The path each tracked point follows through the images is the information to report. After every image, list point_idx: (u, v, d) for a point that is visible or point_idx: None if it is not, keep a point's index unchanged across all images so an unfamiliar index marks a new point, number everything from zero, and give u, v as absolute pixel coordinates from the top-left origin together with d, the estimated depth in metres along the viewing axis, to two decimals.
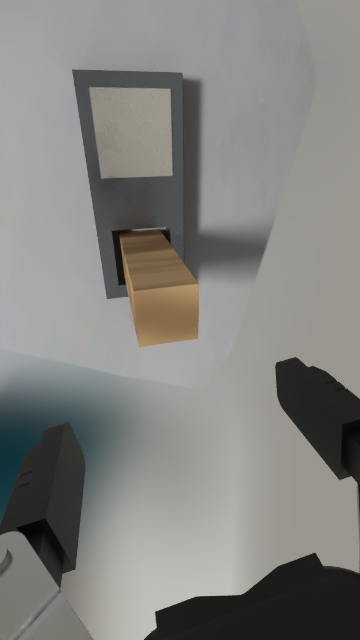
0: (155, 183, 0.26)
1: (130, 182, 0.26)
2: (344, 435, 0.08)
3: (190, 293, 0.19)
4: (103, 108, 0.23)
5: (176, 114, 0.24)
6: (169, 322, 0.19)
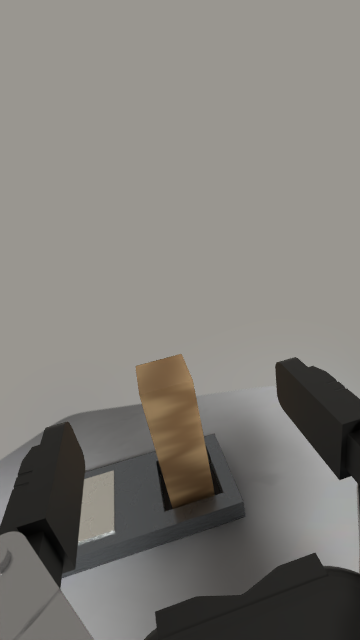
0: (120, 482, 0.29)
1: (119, 503, 0.27)
2: (344, 435, 0.08)
3: (142, 367, 0.25)
4: None
5: None
6: (167, 370, 0.24)
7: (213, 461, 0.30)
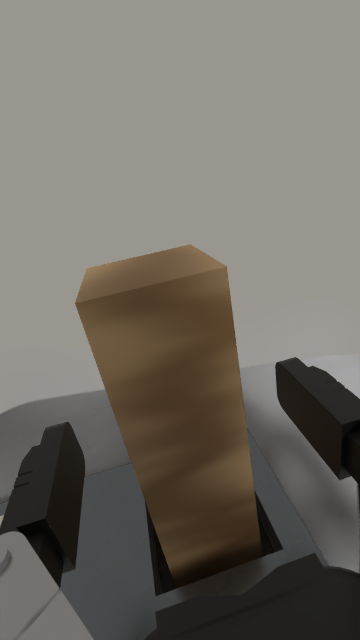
0: None
1: None
2: (344, 435, 0.08)
3: (101, 268, 0.11)
4: None
5: None
6: (158, 263, 0.10)
7: None
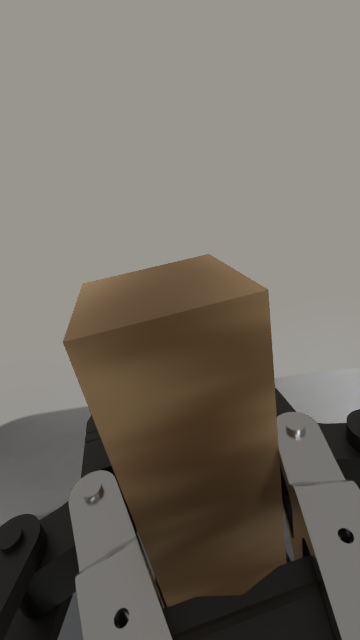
0: None
1: None
2: None
3: (101, 284, 0.09)
4: None
5: None
6: (173, 280, 0.08)
7: None
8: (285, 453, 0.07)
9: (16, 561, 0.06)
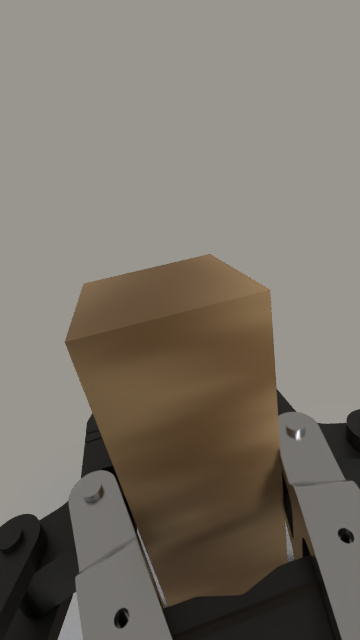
0: None
1: None
2: None
3: (102, 284, 0.09)
4: None
5: None
6: (174, 280, 0.08)
7: None
8: (285, 453, 0.07)
9: (16, 561, 0.06)
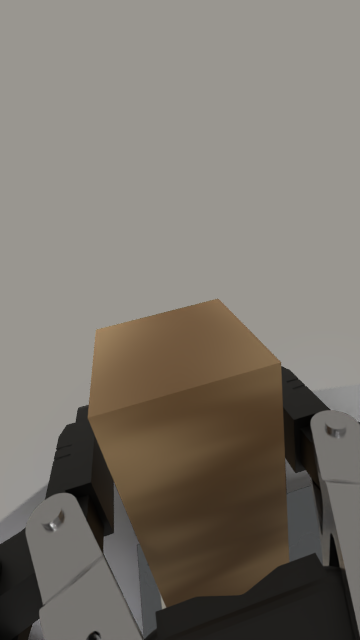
0: None
1: None
2: (297, 430, 0.09)
3: (114, 332, 0.09)
4: None
5: None
6: (186, 336, 0.08)
7: None
8: (328, 452, 0.07)
9: None
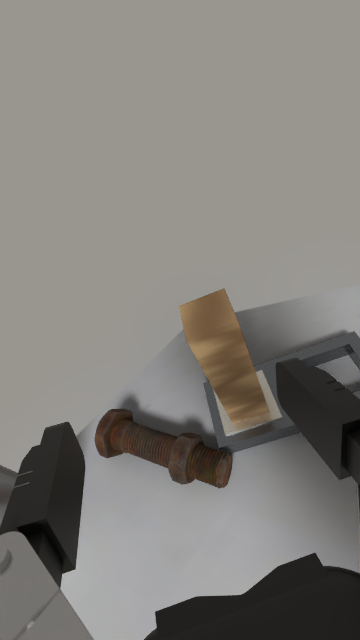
0: (271, 379, 0.33)
1: (277, 396, 0.32)
2: (344, 435, 0.08)
3: (186, 307, 0.25)
4: (234, 424, 0.31)
5: None
6: (211, 310, 0.23)
7: None
8: None
9: None
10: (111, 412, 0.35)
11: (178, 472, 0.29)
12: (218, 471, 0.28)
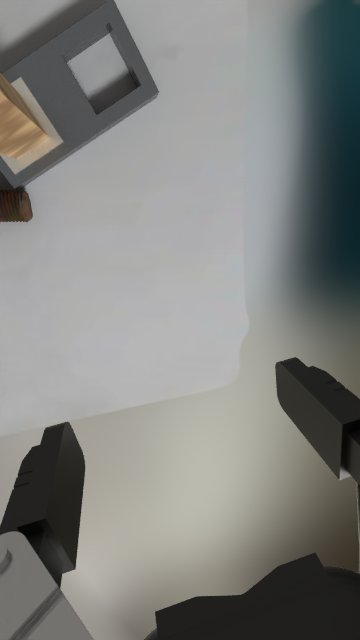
0: (37, 91, 0.29)
1: (51, 115, 0.30)
2: (344, 435, 0.08)
3: None
4: (19, 159, 0.31)
5: None
6: None
7: (123, 46, 0.29)
8: None
9: None
10: None
11: None
12: (22, 211, 0.32)
